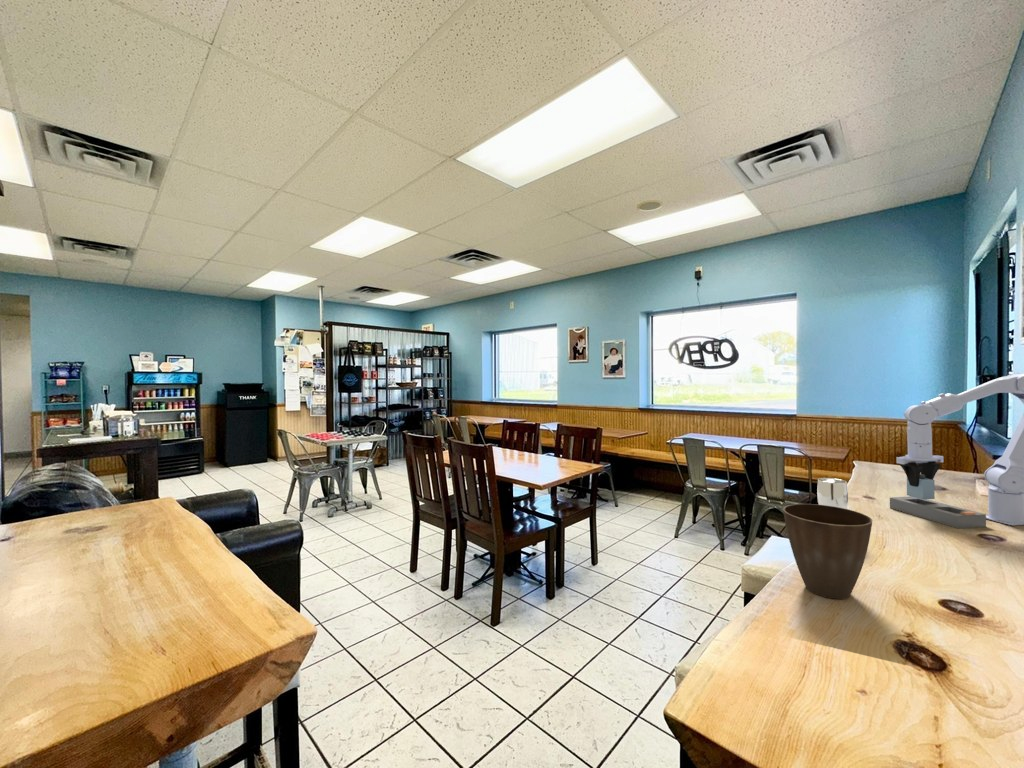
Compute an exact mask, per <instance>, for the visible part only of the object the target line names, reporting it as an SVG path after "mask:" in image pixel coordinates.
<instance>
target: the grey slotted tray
mask: <svg viewBox="0 0 1024 768" xmlns="http://www.w3.org/2000/svg"><path fill="white" fill-rule="evenodd" d="M889 508H890V509H891V508H893V509H892V510H895V509H896V510H895V511H898V510H899V511H898V512H901V511H902V513H905V514H908V515H912V516H915V517H918V518H923V519H925V520H930V521H931V522H932V521H933V522H935V523H939V524H943V525H946V526H949V527H953V528H955V529H969V528H971V529H972V528H982V527H984V528H985V527H987V519H986V515H987V514H986V513H983V512H977V511H975V510H970V509H966V508H962V507H959V506H954V505H950V504H947V503H942V502H939V501H934V500H932V499H919V498H915V497H911V496H908V495H907V496H896V497H893V496H892V497H891V496H890V497H889Z"/></svg>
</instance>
